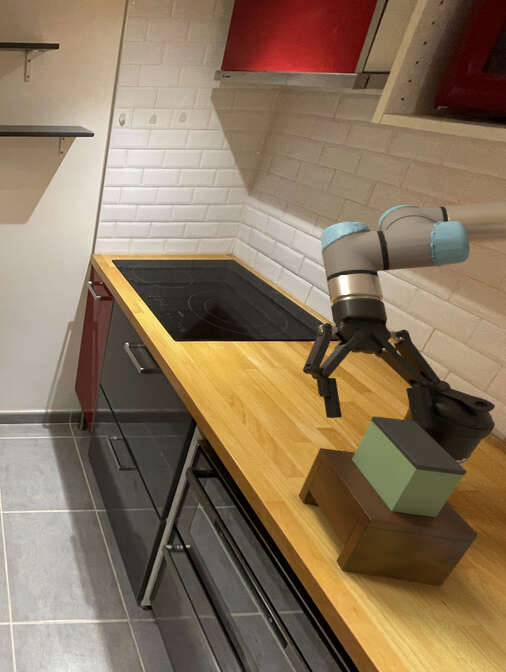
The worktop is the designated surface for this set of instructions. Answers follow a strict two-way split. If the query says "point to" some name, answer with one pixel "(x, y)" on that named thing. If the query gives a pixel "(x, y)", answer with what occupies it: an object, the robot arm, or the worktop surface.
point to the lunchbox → (407, 466)
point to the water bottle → (457, 420)
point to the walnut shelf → (383, 525)
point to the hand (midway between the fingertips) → (378, 422)
